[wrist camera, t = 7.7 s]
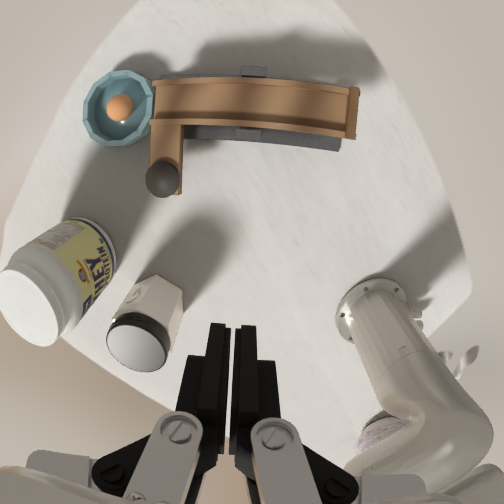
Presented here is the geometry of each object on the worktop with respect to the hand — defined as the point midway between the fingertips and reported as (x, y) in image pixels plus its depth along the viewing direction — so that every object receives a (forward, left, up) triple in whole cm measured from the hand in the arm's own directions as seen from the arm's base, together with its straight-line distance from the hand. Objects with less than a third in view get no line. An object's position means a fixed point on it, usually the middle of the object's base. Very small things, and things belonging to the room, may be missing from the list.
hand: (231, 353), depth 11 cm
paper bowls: (-38, +54, -29) cm, 72 cm away
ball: (+16, -11, -26) cm, 33 cm away
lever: (0, -7, -23) cm, 24 cm away
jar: (+12, +17, -29) cm, 36 cm away
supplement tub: (+24, +10, -29) cm, 39 cm away
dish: (+17, -11, -29) cm, 35 cm away
